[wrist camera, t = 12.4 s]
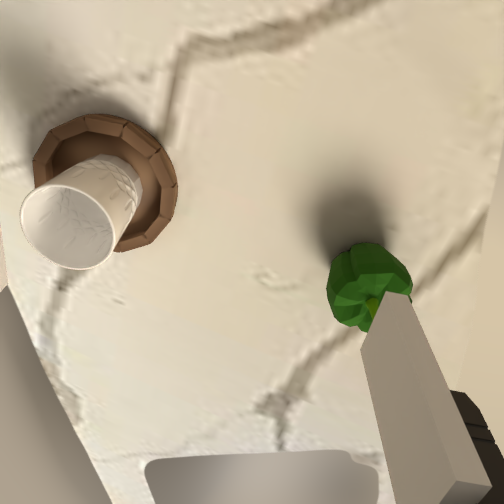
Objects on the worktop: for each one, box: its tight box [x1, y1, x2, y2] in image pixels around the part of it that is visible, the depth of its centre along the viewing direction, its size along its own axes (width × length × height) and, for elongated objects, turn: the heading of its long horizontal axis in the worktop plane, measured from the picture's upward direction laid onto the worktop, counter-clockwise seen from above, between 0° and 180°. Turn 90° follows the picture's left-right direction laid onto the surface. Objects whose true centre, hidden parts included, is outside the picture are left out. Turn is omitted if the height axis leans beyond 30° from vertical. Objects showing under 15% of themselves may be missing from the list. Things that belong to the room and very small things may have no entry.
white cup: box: [20, 154, 143, 270], centre depth 39 cm, size 8×8×10 cm
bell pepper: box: [326, 243, 413, 333], centre depth 42 cm, size 8×8×10 cm
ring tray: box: [33, 114, 178, 253], centre depth 43 cm, size 14×14×2 cm
